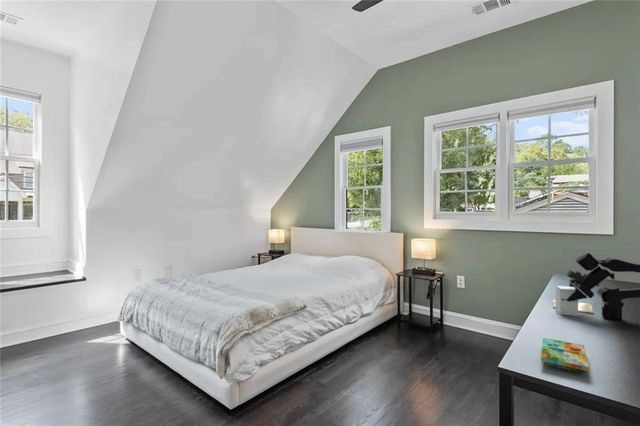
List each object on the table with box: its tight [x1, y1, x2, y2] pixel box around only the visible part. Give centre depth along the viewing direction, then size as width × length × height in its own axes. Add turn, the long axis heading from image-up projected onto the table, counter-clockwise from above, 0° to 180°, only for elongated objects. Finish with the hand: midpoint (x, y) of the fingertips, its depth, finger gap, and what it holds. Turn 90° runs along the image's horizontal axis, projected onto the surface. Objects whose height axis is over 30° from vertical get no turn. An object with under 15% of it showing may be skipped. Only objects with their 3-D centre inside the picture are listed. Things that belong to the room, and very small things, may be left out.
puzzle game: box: [540, 337, 590, 374], centre depth 109 cm, size 12×5×20 cm
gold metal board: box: [552, 298, 595, 315], centre depth 170 cm, size 16×18×1 cm
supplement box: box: [555, 285, 579, 317], centre depth 160 cm, size 7×7×13 cm
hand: (565, 298), depth 160 cm, fingers closed on supplement box, 7 cm apart
